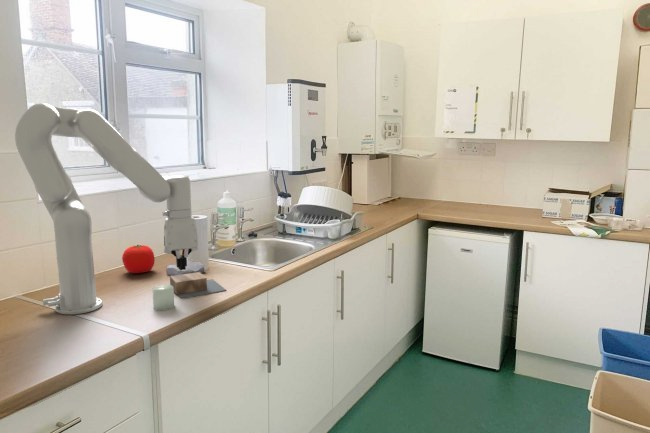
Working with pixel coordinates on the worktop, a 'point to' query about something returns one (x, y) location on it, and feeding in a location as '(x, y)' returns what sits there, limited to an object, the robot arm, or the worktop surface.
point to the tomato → (138, 259)
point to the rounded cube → (163, 297)
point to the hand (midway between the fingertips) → (181, 268)
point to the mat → (211, 288)
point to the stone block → (190, 268)
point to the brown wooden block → (188, 282)
